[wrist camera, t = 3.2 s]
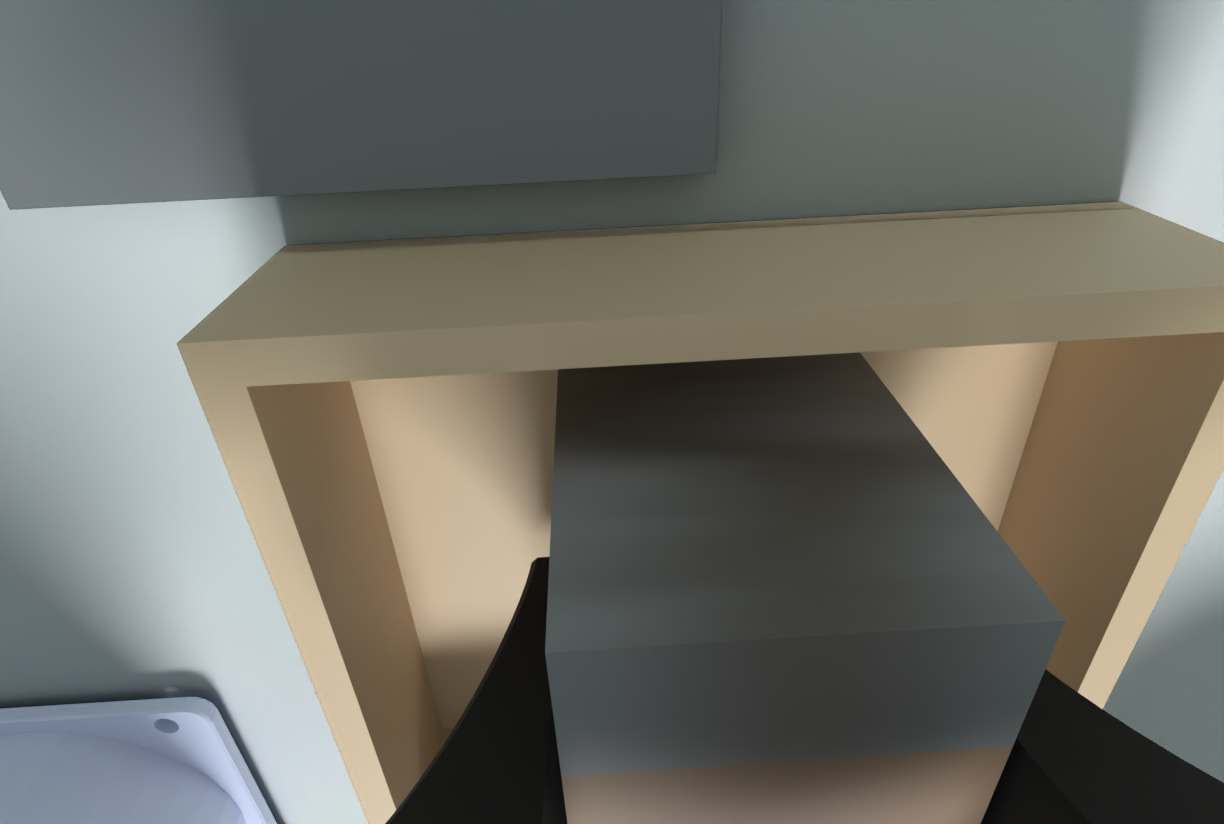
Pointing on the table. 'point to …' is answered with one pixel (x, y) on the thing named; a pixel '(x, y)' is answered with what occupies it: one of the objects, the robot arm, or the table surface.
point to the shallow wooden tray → (689, 332)
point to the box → (776, 603)
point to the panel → (348, 95)
